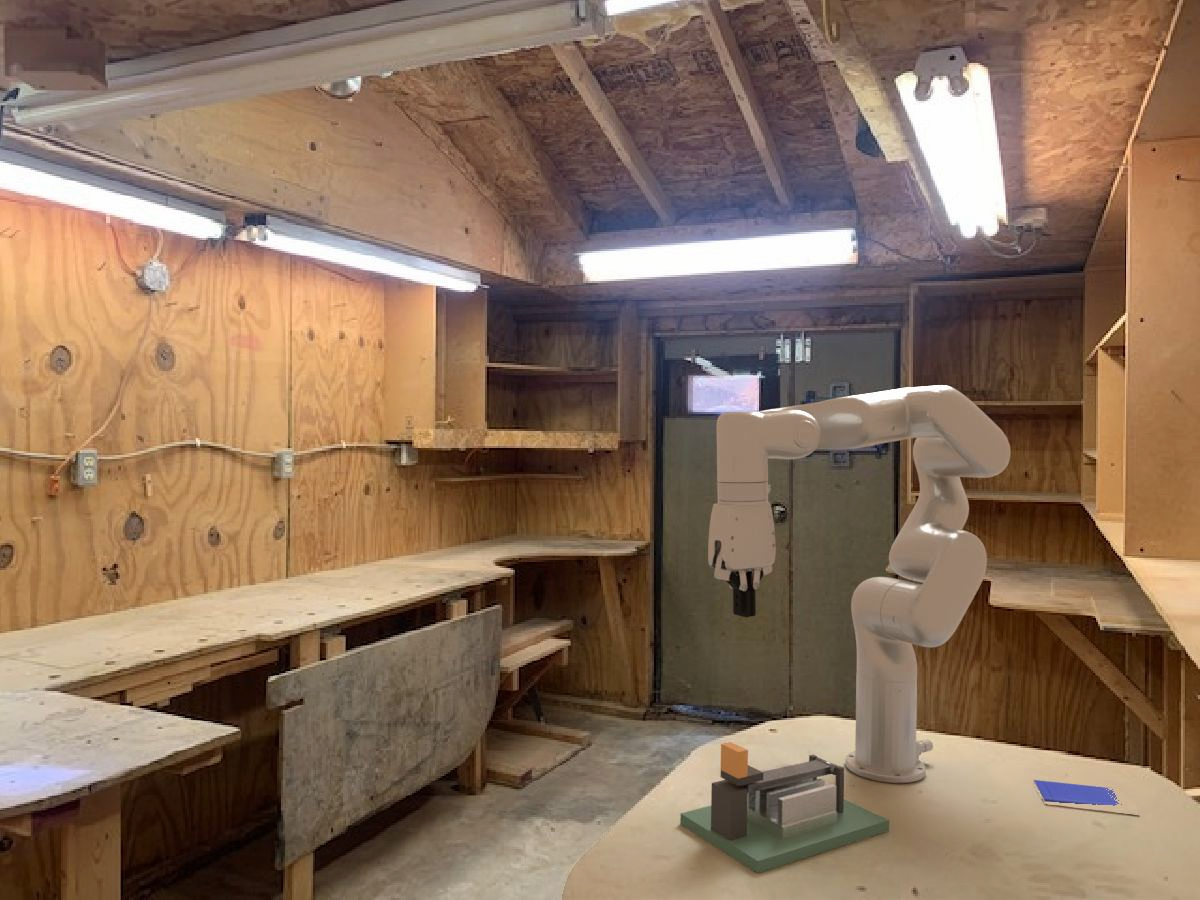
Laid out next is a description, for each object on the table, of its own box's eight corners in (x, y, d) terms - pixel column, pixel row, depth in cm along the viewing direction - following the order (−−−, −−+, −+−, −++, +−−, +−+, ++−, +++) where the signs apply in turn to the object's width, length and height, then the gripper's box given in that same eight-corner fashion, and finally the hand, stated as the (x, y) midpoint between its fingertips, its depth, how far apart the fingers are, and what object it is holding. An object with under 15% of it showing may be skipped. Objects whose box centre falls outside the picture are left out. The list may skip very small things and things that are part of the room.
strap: (820, 766, 126) (820, 756, 126) (838, 774, 123) (839, 764, 123) (732, 785, 117) (732, 775, 117) (749, 795, 114) (750, 784, 114)
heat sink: (785, 796, 127) (786, 763, 127) (837, 822, 118) (837, 786, 118) (733, 810, 122) (733, 775, 122) (782, 838, 113) (783, 800, 113)
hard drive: (1121, 787, 134) (1033, 778, 137) (1138, 808, 126) (1044, 797, 129) (1121, 798, 134) (1033, 788, 137) (1138, 819, 126) (1044, 808, 129)
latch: (745, 771, 119) (745, 738, 119) (763, 779, 116) (763, 746, 116) (720, 777, 116) (721, 743, 116) (738, 786, 113) (738, 752, 113)
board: (805, 790, 133) (806, 740, 133) (889, 830, 119) (889, 774, 119) (680, 824, 121) (681, 768, 121) (757, 873, 107) (758, 810, 107)
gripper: (761, 490, 137) (763, 605, 137) (688, 495, 129) (690, 617, 129) (796, 492, 131) (798, 613, 131) (721, 497, 122) (723, 626, 123)
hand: (744, 615), depth 130 cm, fingers closed
